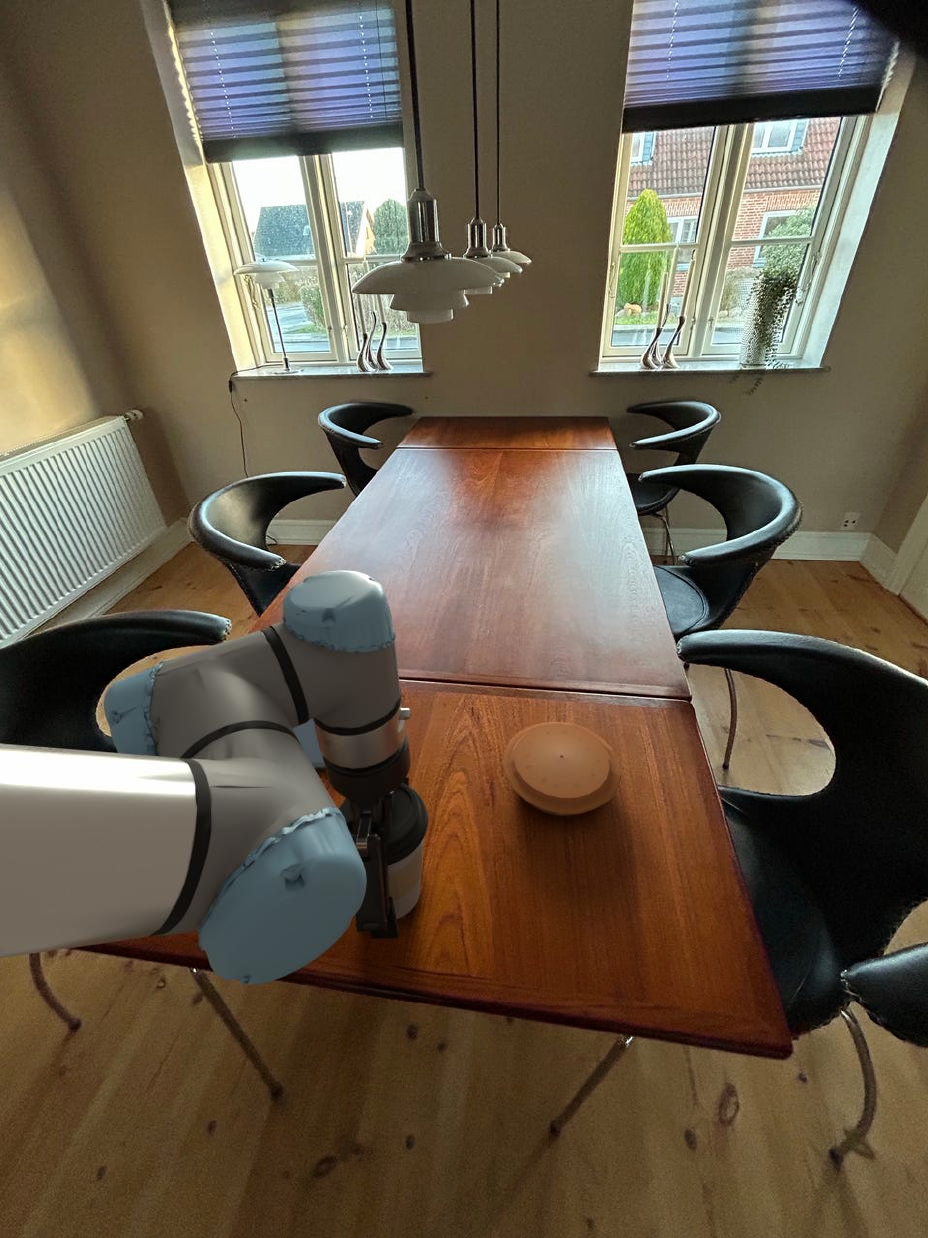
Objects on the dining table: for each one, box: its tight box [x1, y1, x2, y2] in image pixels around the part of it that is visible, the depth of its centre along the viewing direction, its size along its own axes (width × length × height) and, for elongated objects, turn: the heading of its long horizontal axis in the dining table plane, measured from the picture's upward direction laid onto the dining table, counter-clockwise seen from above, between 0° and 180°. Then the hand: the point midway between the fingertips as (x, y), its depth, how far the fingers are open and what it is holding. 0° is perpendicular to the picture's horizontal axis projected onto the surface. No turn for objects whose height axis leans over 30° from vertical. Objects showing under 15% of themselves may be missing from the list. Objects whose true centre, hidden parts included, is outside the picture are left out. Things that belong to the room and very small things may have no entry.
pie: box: [501, 721, 623, 817], centre depth 71 cm, size 16×16×5 cm
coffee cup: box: [338, 783, 429, 920], centre depth 56 cm, size 9×9×15 cm
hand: (391, 877), depth 59 cm, fingers open, 11 cm apart
